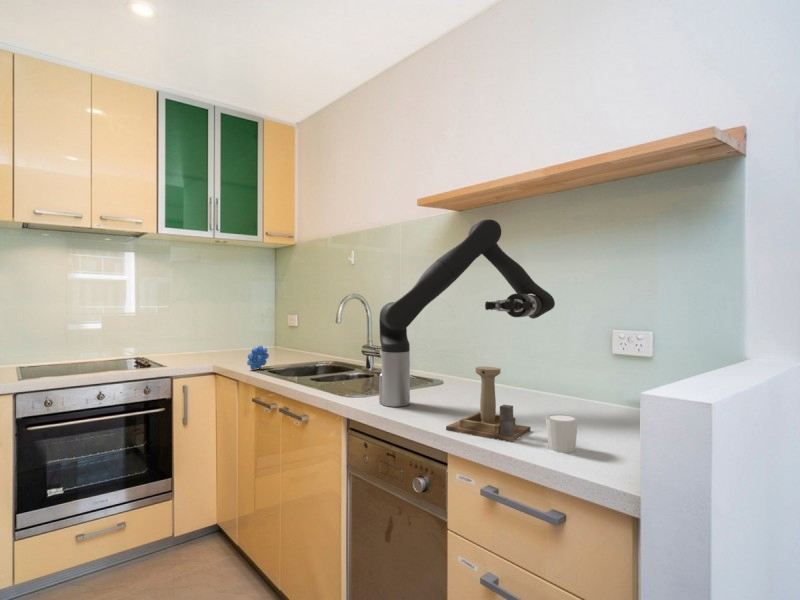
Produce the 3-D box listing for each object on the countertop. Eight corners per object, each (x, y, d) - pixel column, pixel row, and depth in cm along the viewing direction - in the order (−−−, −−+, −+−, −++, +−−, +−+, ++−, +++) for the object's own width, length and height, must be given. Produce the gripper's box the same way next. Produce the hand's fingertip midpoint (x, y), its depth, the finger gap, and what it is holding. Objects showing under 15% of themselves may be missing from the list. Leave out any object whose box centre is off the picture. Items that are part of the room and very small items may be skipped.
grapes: (264, 367, 236) (264, 344, 236) (271, 368, 232) (271, 345, 232) (243, 370, 228) (242, 345, 228) (249, 371, 223) (249, 346, 223)
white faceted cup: (545, 451, 101) (544, 420, 101) (546, 442, 108) (546, 412, 108) (578, 455, 99) (578, 422, 99) (578, 445, 105) (577, 415, 105)
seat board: (446, 430, 119) (445, 399, 119) (467, 420, 129) (467, 391, 129) (512, 442, 108) (511, 408, 108) (530, 430, 118) (530, 399, 118)
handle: (481, 422, 122) (481, 366, 123) (503, 426, 118) (503, 368, 119) (472, 426, 119) (472, 368, 119) (494, 430, 115) (494, 370, 115)
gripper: (500, 294, 152) (478, 293, 139) (542, 293, 144) (523, 292, 131) (500, 316, 152) (478, 318, 139) (543, 317, 144) (523, 319, 130)
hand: (500, 305), depth 135 cm, fingers open, 8 cm apart
